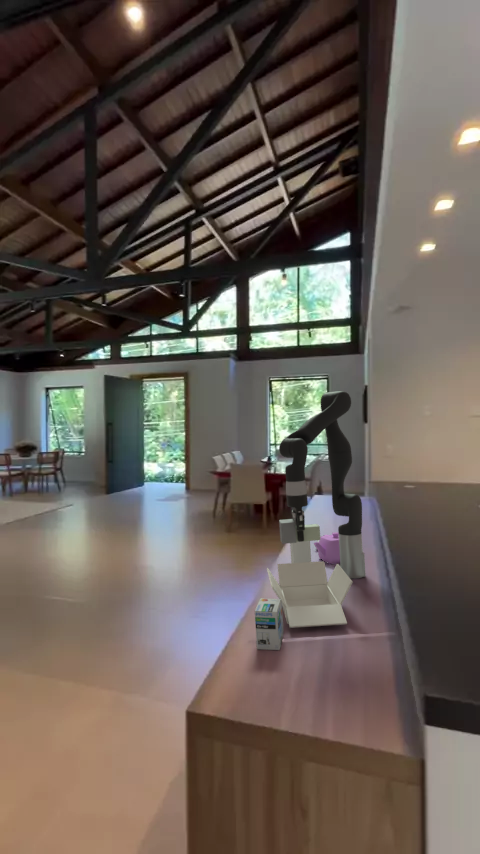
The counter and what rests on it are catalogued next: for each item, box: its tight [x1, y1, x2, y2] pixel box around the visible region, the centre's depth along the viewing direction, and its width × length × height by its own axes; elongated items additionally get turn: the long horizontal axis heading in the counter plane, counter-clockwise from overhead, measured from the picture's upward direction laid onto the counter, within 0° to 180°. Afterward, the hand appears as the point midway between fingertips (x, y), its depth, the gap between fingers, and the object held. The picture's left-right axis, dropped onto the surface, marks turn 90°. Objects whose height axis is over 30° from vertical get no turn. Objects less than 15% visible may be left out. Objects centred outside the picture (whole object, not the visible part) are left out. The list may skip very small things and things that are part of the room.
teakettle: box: [313, 531, 340, 565], centre depth 215 cm, size 17×17×12 cm
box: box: [278, 518, 321, 545], centre depth 171 cm, size 14×6×7 cm, turn 92°
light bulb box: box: [254, 597, 285, 651], centre depth 135 cm, size 11×7×11 cm, turn 168°
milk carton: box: [289, 541, 312, 563], centre depth 195 cm, size 7×7×19 cm
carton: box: [266, 560, 354, 629], centre depth 153 cm, size 25×32×12 cm
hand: (299, 539), depth 171 cm, fingers closed on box, 4 cm apart
